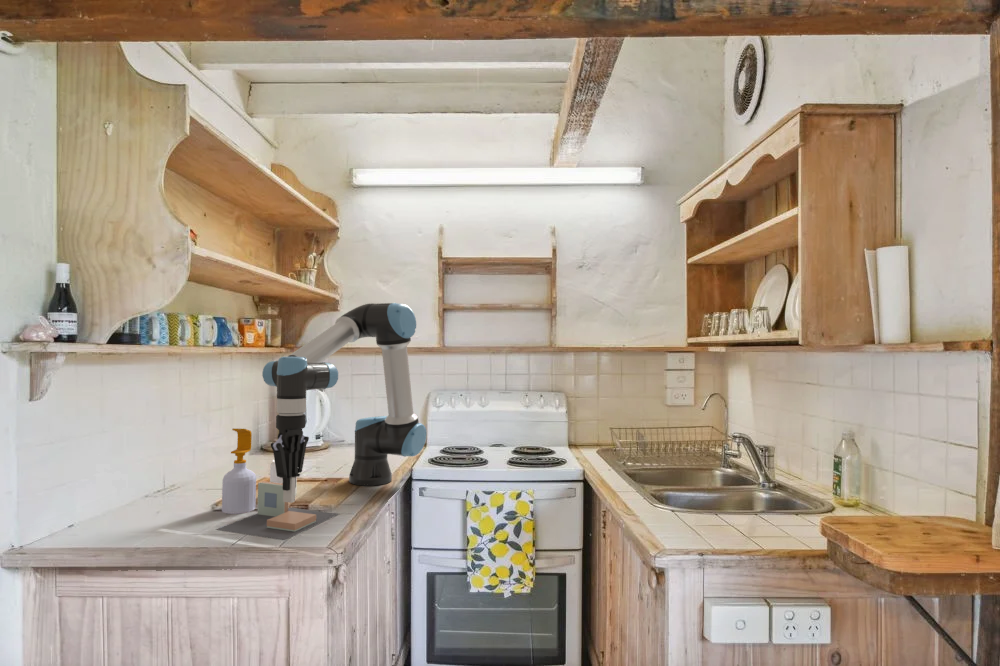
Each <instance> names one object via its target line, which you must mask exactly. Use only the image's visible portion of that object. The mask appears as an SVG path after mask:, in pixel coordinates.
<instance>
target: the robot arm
mask: <svg viewBox="0 0 1000 666" xmlns="http://www.w3.org/2000/svg"><path fill="white" fill-rule="evenodd" d="M416 329H417V320H416V316H415V313H414V311H413V310H412V308H411V307H410V306H408V304H404V303H398V302H388V303H386V302H385V303H384V302H383V303H381V302H380V303H365V304H361V305H359V306H357V307H355V308H353V309H351V310H349V311H347V312H346V313H344V314H342V315H341V316H340V317H338V318H337V319H336V320H335V323H334V324H333V325H331V326H330V327H329V328H327V329H326V330H324V331H323V332H321V333H320V334H319V335H317V336H315V337H314V338H312V339H311V340H310V341H308V342H307V343H305V344H304V345H302V346H301V347H299V348H298V349H297V350H295V351H293V352H292V353H290V354H289V355H288V356H281V357H280V358H278V360H273V361H272V360H271V361H269V362H267V363H266V364H265V365H264V367H263V368H262V375H261V376H262V379H263V382H264V383H265V384H266V385H268V386H270V387H275V388H276V413H277V415H276V416H275V428H276V429H277V430H278V434H277V440H276V441H275V442H271V443H270V448H271V450H272V452H273V460H275V466H276V473H277V477H281V478H283V502H288V503H290V504H292V503H294V502H296V496H295V488H296V476H297V478H298V477H300V476H301V473H302V472H303V467H304V461H305V455H306V450H307V444H308V442H309V439H310V437H309V436H305V435H304V432H303V429H305V428H306V422H307V421H306V414H305V413H306V411H307V391H312V390H326V389H330V388H333V387H335V385H336V384H337V383H338V380H339V371H338V369H337V367H336V366H335V364H333V363H331V362H324V361H325V360H327V359H328V358H329V357H331V356H332V355H333V354H335V353H337V352H338V351H339V350H340V349H342V348H343V347H344V346H346V345H347V344H349V343H355V342H356V341H358V340H359V339H362V338H363V339H364V338H375V342H376V346H378V347H379V348H380V349H381V353H382V355H381V356H382V364H383V366H382V367H383V373H384V383H385V384H384V385H385V390H386V391H385V392H386V393H385V394H386V401H387V402H386V403H387V413H388V415H381V416H371V417H365V418H359V419H357V420H356V421H355V427H354V428H355V429H354V460H353V464H352V466H351V469H350V472H349V474H348V475H349V476H348V482H349V483H350V484H352V485H356V486H367V487H369V486H379V485H384V484H388V483H390V482H392V479H393V474H392V471H391V467H390V463H389V460H388V455H392V456H393V455H394V456H400V457H416V456H418V455H419V454H420V452H422V451H423V448H424V446H425V444H426V441H427V428H426V426H425V425H424V424H423V423H422V422H420V421H419V416H418V414H416V413H415V412H414V407H413V405H414V404H413V397H412V387H411V377H410V376H411V375H410V374H411V373H410V365H409V363H410V362H409V355H408V345H409V344H410V343H411V341H412V340H411V337H413V336H414V335H415V333H416Z"/></svg>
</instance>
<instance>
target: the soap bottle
mask: <svg viewBox="0 0 1000 666" xmlns="http://www.w3.org/2000/svg"><path fill="white" fill-rule="evenodd" d="M231 431H234V432H236V433H237V447H236V449H234V450H232V451H230V454H234V456H236V460H234V461H233V468H232V469H231V470H230V471H228V472H227V473H225V474H224V476H223V478H222V487H221V488H222V492H221V494H222V495H221V496H222V497H221V498H222V499H221V512H222V513H223V514H224V513H225V514H230V515H231V514H232V515H233V514H234V515H235V514H243V513H244V514H245V513H249V512H251V511H255V509H256V503H257V502H256V500H257V497H256V496H257V474H256V473H255V472H254V471H253V470H251V469H248V468H247V460H246V459H244V456H246V454H247V453H248V452H250V451H251V449H252V431H251V430H250V429H247V428H232V430H231Z"/></svg>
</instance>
